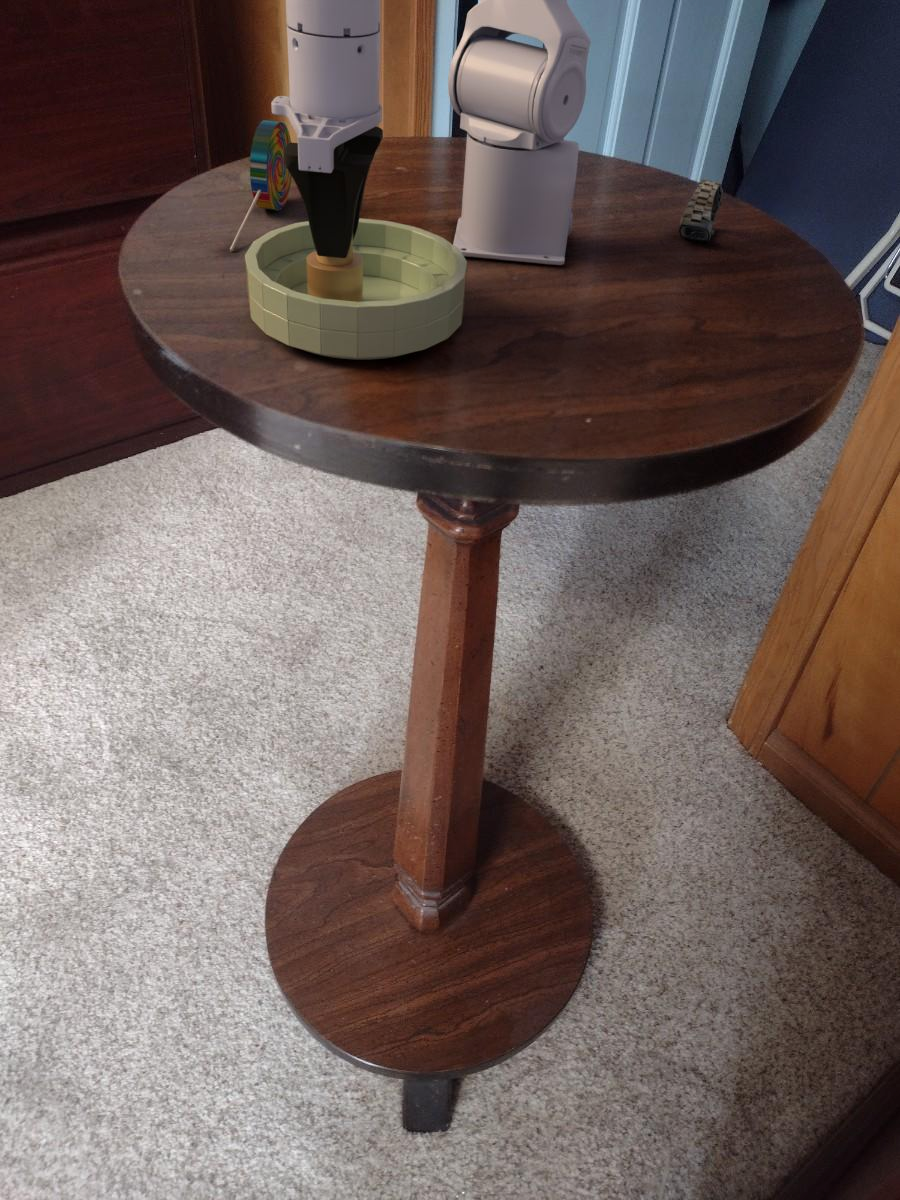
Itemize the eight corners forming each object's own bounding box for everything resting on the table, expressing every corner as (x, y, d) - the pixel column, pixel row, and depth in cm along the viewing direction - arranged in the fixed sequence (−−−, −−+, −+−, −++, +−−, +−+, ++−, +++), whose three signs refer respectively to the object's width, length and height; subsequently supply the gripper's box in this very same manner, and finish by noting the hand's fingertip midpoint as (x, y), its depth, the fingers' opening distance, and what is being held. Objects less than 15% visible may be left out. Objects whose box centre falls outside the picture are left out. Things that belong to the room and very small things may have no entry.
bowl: (468, 284, 78) (473, 228, 75) (453, 378, 66) (458, 316, 63) (275, 266, 78) (272, 209, 75) (226, 356, 66) (220, 293, 63)
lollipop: (230, 284, 82) (281, 176, 90) (246, 286, 82) (296, 178, 90) (213, 211, 76) (269, 103, 84) (231, 213, 76) (285, 105, 84)
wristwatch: (677, 247, 90) (678, 219, 85) (702, 199, 90) (705, 168, 86) (708, 259, 89) (710, 231, 85) (733, 211, 90) (737, 180, 85)
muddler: (366, 290, 72) (367, 179, 67) (358, 313, 69) (358, 199, 64) (313, 285, 72) (310, 174, 67) (303, 308, 69) (298, 193, 64)
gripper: (292, -1, 65) (300, 205, 74) (240, 47, 54) (256, 282, 63) (397, 8, 65) (391, 214, 74) (366, 59, 54) (364, 293, 63)
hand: (336, 246), depth 68 cm, fingers closed on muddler, 2 cm apart
